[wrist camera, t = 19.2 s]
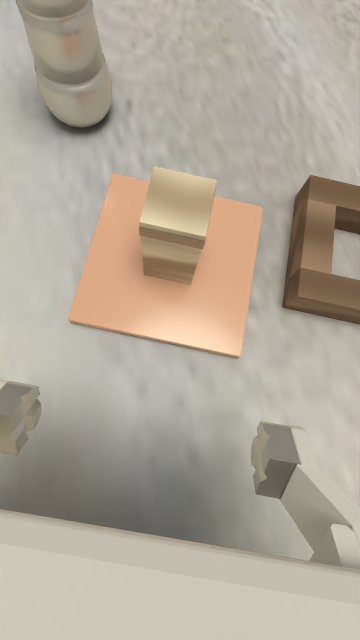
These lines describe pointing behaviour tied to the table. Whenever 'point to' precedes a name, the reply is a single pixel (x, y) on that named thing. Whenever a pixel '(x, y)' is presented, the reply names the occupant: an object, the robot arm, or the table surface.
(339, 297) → the walnut collar holder
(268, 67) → the table surface
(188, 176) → the block
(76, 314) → the terracotta tile
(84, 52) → the plastic bottle
